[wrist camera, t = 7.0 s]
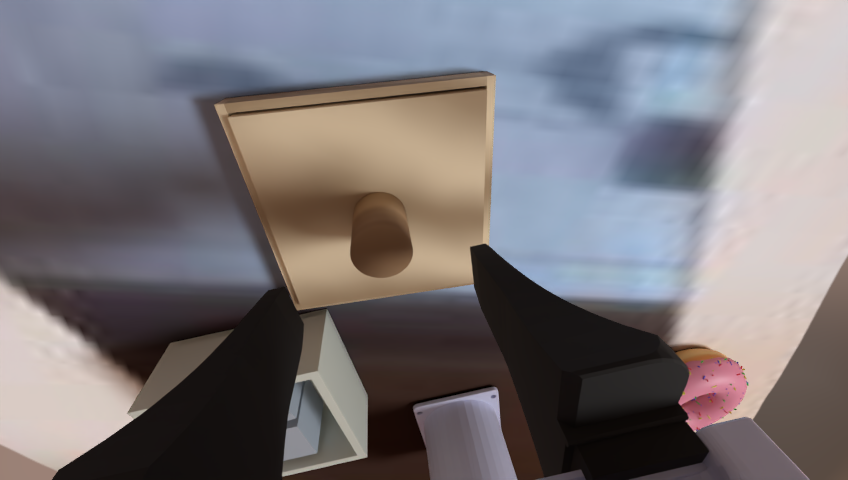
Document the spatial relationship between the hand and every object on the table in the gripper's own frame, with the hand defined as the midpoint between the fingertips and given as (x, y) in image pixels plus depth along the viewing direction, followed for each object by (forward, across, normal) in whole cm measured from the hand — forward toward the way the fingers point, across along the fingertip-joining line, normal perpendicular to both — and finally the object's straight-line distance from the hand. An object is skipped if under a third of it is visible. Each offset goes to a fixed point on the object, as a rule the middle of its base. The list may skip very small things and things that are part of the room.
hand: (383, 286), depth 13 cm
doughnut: (+8, -24, +27) cm, 37 cm away
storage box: (+8, +11, +13) cm, 19 cm away
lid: (+7, 0, 0) cm, 7 cm away
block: (+7, +11, +15) cm, 20 cm away
